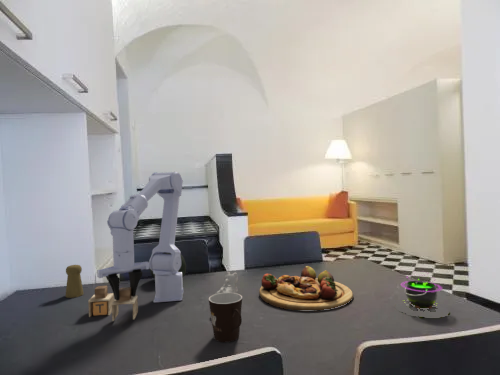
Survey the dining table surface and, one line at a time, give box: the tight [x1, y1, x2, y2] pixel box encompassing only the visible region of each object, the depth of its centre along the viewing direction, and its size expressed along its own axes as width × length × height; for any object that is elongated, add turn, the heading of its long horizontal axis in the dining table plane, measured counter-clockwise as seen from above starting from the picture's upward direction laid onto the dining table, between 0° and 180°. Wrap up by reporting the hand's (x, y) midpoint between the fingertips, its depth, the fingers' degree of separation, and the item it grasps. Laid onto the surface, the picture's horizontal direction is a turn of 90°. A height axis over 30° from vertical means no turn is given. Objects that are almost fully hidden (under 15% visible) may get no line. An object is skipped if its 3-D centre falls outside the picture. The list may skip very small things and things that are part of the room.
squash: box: [149, 252, 187, 280], centre depth 143 cm, size 14×15×15 cm
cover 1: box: [87, 285, 115, 318], centre depth 108 cm, size 6×6×8 cm
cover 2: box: [111, 286, 139, 322], centre depth 101 cm, size 6×6×8 cm
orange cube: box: [92, 301, 108, 317], centre depth 108 cm, size 4×4×4 cm
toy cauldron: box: [400, 270, 443, 312], centre depth 104 cm, size 15×15×11 cm
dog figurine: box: [215, 271, 239, 294], centre depth 110 cm, size 5×13×11 cm, turn 162°
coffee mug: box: [208, 293, 243, 343], centre depth 87 cm, size 12×9×10 cm
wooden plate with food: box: [258, 265, 354, 311], centre depth 120 cm, size 32×32×8 cm
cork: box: [65, 264, 84, 299], centre depth 127 cm, size 6×6×11 cm
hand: (125, 297), depth 101 cm, fingers closed on cover 2, 4 cm apart
